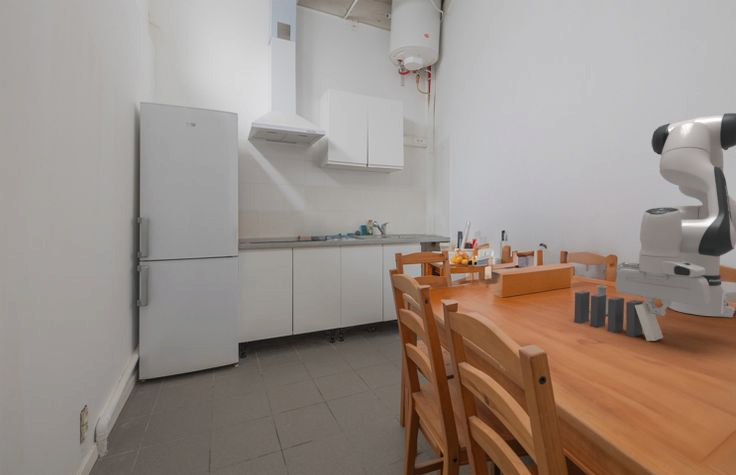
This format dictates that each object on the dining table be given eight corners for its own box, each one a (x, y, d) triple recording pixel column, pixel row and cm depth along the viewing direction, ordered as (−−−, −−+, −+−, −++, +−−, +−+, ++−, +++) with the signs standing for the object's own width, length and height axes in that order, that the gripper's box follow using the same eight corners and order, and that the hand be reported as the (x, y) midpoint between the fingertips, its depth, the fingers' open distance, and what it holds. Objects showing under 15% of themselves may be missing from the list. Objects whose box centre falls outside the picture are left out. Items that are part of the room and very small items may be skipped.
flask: (617, 316, 116) (618, 288, 116) (594, 315, 118) (595, 288, 117) (606, 311, 123) (607, 284, 123) (585, 310, 125) (586, 284, 124)
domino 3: (607, 330, 102) (608, 298, 101) (615, 327, 104) (616, 296, 104) (614, 332, 100) (615, 300, 100) (623, 329, 103) (624, 298, 102)
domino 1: (574, 321, 111) (575, 292, 110) (582, 319, 113) (583, 290, 113) (580, 323, 109) (581, 293, 108) (588, 321, 111) (589, 291, 111)
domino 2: (590, 326, 106) (591, 295, 106) (598, 323, 109) (599, 293, 108) (596, 327, 105) (597, 296, 104) (605, 325, 107) (606, 294, 106)
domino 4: (626, 335, 98) (626, 302, 97) (634, 332, 100) (634, 299, 100) (634, 337, 96) (634, 303, 95) (642, 334, 98) (642, 301, 98)
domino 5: (646, 340, 93) (634, 305, 95) (654, 337, 96) (642, 303, 98) (655, 340, 91) (642, 304, 94) (663, 337, 94) (650, 302, 96)
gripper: (611, 262, 100) (610, 307, 100) (704, 271, 82) (701, 326, 82) (622, 260, 103) (620, 304, 103) (713, 269, 85) (711, 322, 85)
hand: (657, 314), depth 93 cm, fingers closed
